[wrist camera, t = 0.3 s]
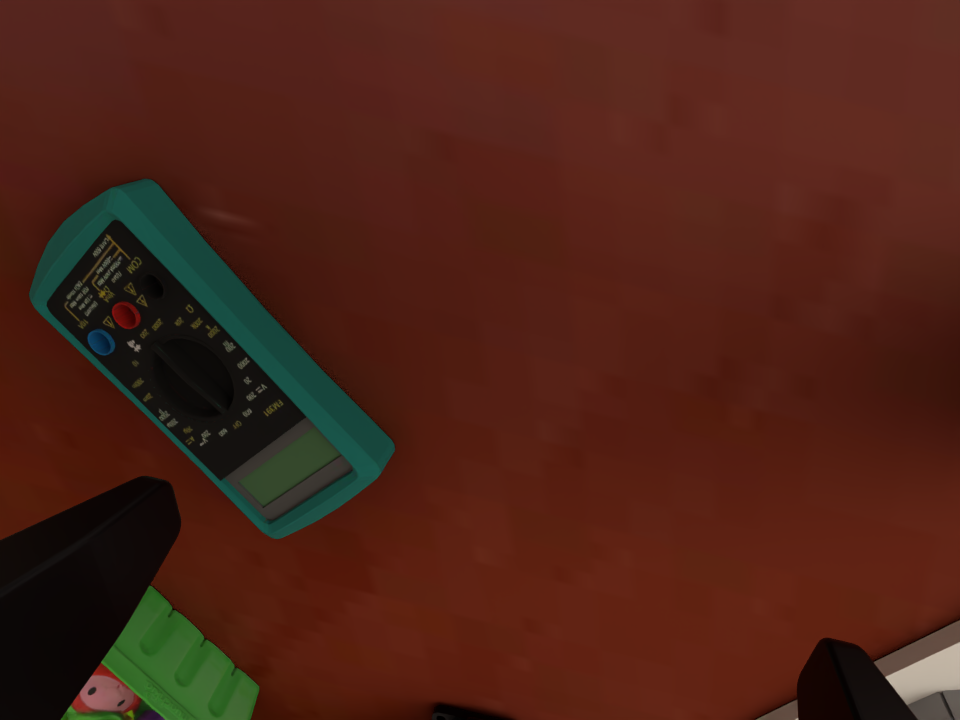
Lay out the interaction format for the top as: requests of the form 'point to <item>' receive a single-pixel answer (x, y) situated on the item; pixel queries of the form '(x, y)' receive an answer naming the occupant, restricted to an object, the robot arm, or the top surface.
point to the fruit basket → (164, 673)
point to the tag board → (917, 677)
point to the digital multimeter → (205, 359)
